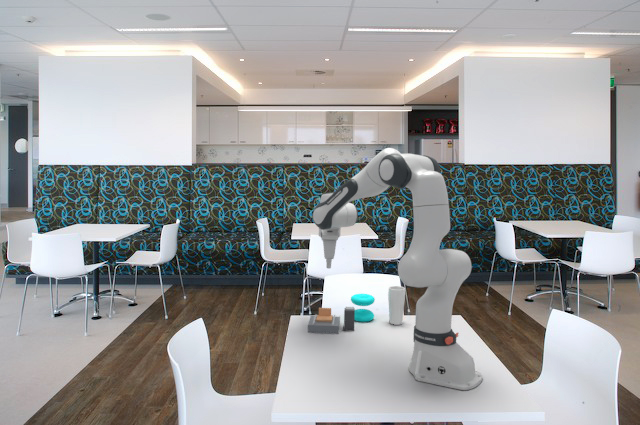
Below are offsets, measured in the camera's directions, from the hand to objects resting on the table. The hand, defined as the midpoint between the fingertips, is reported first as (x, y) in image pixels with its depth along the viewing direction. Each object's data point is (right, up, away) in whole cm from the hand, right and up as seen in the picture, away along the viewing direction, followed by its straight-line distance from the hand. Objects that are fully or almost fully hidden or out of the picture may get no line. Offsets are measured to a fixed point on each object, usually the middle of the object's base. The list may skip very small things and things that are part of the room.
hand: (328, 265), depth 204 cm
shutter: (-2, -21, -3) cm, 22 cm away
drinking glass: (+28, -25, +3) cm, 37 cm away
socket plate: (-2, -25, -4) cm, 25 cm away
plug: (+8, -25, -5) cm, 27 cm away
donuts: (+15, -24, +8) cm, 29 cm away
